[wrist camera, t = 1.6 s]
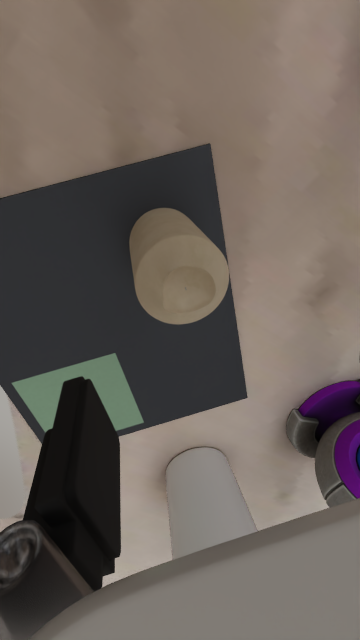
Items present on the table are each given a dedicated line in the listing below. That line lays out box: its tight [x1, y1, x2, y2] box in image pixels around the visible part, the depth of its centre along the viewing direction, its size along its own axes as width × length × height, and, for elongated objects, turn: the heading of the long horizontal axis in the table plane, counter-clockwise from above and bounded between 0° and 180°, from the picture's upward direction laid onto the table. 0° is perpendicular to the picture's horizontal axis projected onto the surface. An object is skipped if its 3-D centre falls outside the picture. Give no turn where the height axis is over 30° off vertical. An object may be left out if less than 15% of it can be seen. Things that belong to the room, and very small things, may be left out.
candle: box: [129, 208, 229, 324], centre depth 21 cm, size 6×6×10 cm
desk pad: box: [0, 144, 247, 443], centre depth 29 cm, size 26×23×1 cm
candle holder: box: [166, 447, 258, 560], centre depth 36 cm, size 10×10×12 cm
